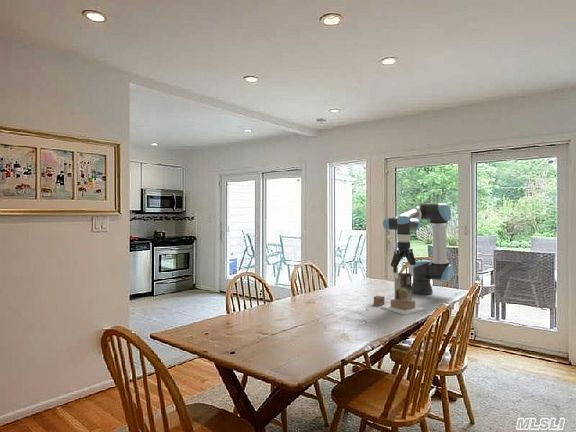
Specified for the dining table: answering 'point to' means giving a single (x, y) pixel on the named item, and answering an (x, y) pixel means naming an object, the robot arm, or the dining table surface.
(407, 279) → the coffee box
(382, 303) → the brick
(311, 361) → the dining table surface
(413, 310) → the tower base
